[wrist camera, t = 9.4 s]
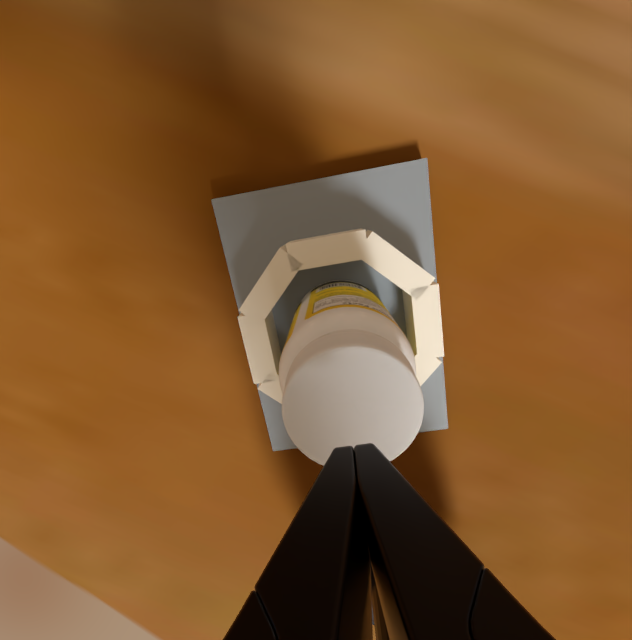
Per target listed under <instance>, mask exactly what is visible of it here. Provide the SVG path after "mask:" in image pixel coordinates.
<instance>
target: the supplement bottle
mask: <svg viewBox="0 0 632 640" xmlns="http://www.w3.org/2000/svg"><path fill="white" fill-rule="evenodd" d="M279 381H280V387H281V391H282V394H283V397H282V417H283V422H284V425H285V428H286V431H287V433H288V435H289V437H290V438H291V440H292V441H293V443H294V444H295V445H296V446H297V448H298V449H299V450H300V451H301V452H302V453H303V454H305V455H306V456H307V457H308V458H310V459H311V460H313V461H315V462H317V463H318V464H321V465H323V466H324V465H325V463H326V461H327V460H328V458H329V456H330V454H331V453H332V451H333V449H334V448H336V447H343V446H352V447H353V448H354V447H355V446H356V445H359V444H367V443H373V444H374V445H375V446H376V447H377V448H378V449H379V450H380V451H381V452H382V453H383V455H384V456H385V457H386V458H387V459H388V460H389V461H391V460H393V459H395V458H396V457H398V456H399V455H400V454H401V453H403V452H404V451H405V450H406V449H407V448H408V447H409V445H410V444H411V443H412V442H413V440H414V439H415V437H416V435H417V433H418V431H419V429H420V427H421V424H422V420H423V414H424V400H423V394H422V390H421V387H420V384H419V382H418V380H417V378H416V363H415V357H414V353H413V350H412V348H411V345H410V343H409V341H408V339H407V338H406V336H405V334H404V333H403V331H402V330H401V329H400V327H399V326H398V324H397V323H396V322H395V320H394V319H393V317H392V316H391V315H390V313H389V312H388V310H387V309H386V308H385V306H384V305H383V303H382V302H381V301H380V299H379V298H378V297H377V296H376V295H375V294H374V293H373V292H372V291H371V290H370V289H368V288H367V287H365V286H363V285H361V284H359V283H356V282H354V281H349V280H333V281H328V282H325V283H322V284H320V285H318V286H316V287H315V288H313V289H312V290H310V291H309V292H308V293H307V294H306V295H305V296H304V298H303V299H302V300H301V302H300V303H299V305H298V307H297V309H296V312H295V314H294V317H293V321H292V324H291V327H290V330H289V334H288V337H287V340H286V343H285V345H284V348H283V351H282V354H281V357H280V362H279Z"/></svg>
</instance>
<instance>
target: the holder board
mask: <svg viewBox="0 0 632 640" xmlns="http://www.w3.org/2000/svg"><path fill="white" fill-rule="evenodd" d="M211 201H212V205H213V209H214V213H215V217H216V221H217V225H218V229H219V233H220V237H221V241H222V245H223V250H224V254H225V258H226V262H227V266H228V270H229V274H230V278H231V282H232V286H233V290H234V294H235V298H236V302H237V306H238V311H239V316H238V317H237V318H238V322H239V326H240V330H241V334H242V338H243V342H244V346H245V350H246V354H247V358H248V362H249V366H250V370H251V374H252V378H253V382H254V384H257V388H258V392H259V396H260V400H261V404H262V408H263V412H264V416H265V420H266V424H267V429H268V433H269V437H270V441H271V445H272V449H273V451H279V450H286V449H294V448H297V446H296V445H295V444H294V443H293V441H292V440H291V438H290V437H289V435H288V433H287V431H286V428H285V425H284V422H283V417H282V397H283V394H282V391H281V387H280V381H279V362H280V357H281V354H282V351H283V348H284V345H285V343H286V340H287V337H288V334H289V330H290V327H291V324H292V321H293V317H294V314H295V312H296V309H297V307H298V305H299V303H300V302H301V300H302V299H303V298H304V296H305V295H306V294H307V293H308V292H309V291H310V290H312V289H313V288H315V287H316V286H318V285H320V284H322V283H325V282H328V281H333V280H349V281H354V282H356V283H359V284H361V285H363V286H365V287H367V288H368V289H370V290H371V291H372V292H373V293H374V294H375V295H376V296H377V297H378V298H379V299H380V301H381V302H382V303H383V305H384V306H385V308H386V309H387V310H388V312H389V313H390V315H391V316H392V317H393V319H394V320H395V322H396V323H397V324H398V326H399V327H400V329H401V330H402V331H403V333H404V334H405V336H406V338H407V339H408V341H409V343H410V345H411V348H412V350H413V353H414V357H415V363H416V378H417V380H418V382H419V384H420V387H421V390H422V394H423V400H424V414H423V420H422V424H421V427H420V429H419V431H418V432H426V431H434V430H441V429H448V420H447V407H446V394H445V381H444V369H443V356H444V347H443V334H442V321H441V308H440V295H439V284H438V283H437V278H436V265H435V253H434V240H433V227H432V214H431V201H430V188H429V175H428V162H427V158H424V159H418V160H413V161H408V162H403V163H398V164H392V165H387V166H382V167H377V168H372V169H366V170H361V171H356V172H351V173H346V174H341V175H335V176H330V177H325V178H320V179H315V180H309V181H304V182H299V183H294V184H289V185H283V186H278V187H273V188H268V189H263V190H257V191H252V192H247V193H242V194H237V195H231V196H226V197H221V198H216V199H211Z"/></svg>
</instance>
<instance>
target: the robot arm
mask: <svg viewBox="0 0 632 640" xmlns="http://www.w3.org/2000/svg"><path fill="white" fill-rule="evenodd" d="M368 547H369V548H368ZM372 624H373V625H375V634H376V640H556V639H555V638H554V637H553V636H552V635H551V634H550V633H548V632H547V631H546V630H545V629H544V628H543V627H542V626H541V625H540V624H539V623H538V621H537V620H536V619H535V618H534V617H533V616H532V615H531V614H530V613H529V612H528V611H527V610H526V609H525V608H524V607H523V606H522V605H521V604H520V603H519V602H518V601H517V600H516V599H515V598H514V596H513V595H512V594H511V593H510V592H509V591H508V590H507V589H506V588H505V587H504V586H503V585H502V584H501V582H500V581H499V580H498V579H497V578H496V577H495V576H494V575H493V574H492V573H491V571H490V570H489V569H487V568H485V569H484V564H483V563H482V562H481V561H480V560H479V559H478V558H477V556H476V555H475V554H474V553H473V552H472V551H471V550H470V549H469V548H468V547H467V545H466V544H465V543H464V542H463V541H462V540H461V539H460V538H459V537H458V536H457V535H456V533H455V532H454V531H453V530H452V529H451V528H450V527H449V526H448V525H447V524H446V522H445V521H444V520H443V519H442V518H441V517H440V516H439V515H438V514H437V513H436V512H435V510H434V509H433V508H432V507H431V506H430V505H429V504H428V503H427V502H426V501H425V499H424V498H423V497H422V496H421V495H420V494H419V493H418V492H417V491H416V490H415V489H414V487H413V486H412V485H411V484H410V483H409V482H408V481H407V480H406V479H405V478H404V476H403V475H402V474H401V473H400V472H399V471H398V470H397V469H396V468H395V467H394V466H393V464H392V463H391V462H390V461H389V460H388V459H387V458H386V457H385V456H384V455H383V453H382V452H381V451H380V450H379V449H378V448H377V447H376V446H375V445H374V444H373V443H367V444H359V445H356V446H355V447H354V448H353V447H352V446H343V447H336V448H334V449H333V451H332V453H331V454H330V456H329V458H328V460H327V461H326V463H325V465H324V467H323V468H322V470H321V472H320V474H319V475H318V477H317V479H316V480H315V482H314V484H313V486H312V487H311V489H310V491H309V493H308V494H307V496H306V498H305V500H304V501H303V503H302V505H301V507H300V508H299V510H298V512H297V514H296V515H295V517H294V519H293V521H292V522H291V524H290V526H289V527H288V529H287V531H286V533H285V534H284V536H283V538H282V540H281V541H280V543H279V545H278V547H277V548H276V550H275V552H274V554H273V555H272V557H271V559H270V561H269V562H268V564H267V566H266V568H265V569H264V571H263V573H262V574H261V576H260V578H259V580H258V581H257V583H256V585H255V591H252V592H251V593H250V595H249V597H248V598H247V600H246V602H245V604H244V605H243V607H242V609H241V611H240V612H239V614H238V616H237V617H236V619H235V621H234V622H233V624H232V626H231V627H230V629H229V631H228V632H227V634H226V635H225V637H224V639H223V640H373V636H372Z"/></svg>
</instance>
